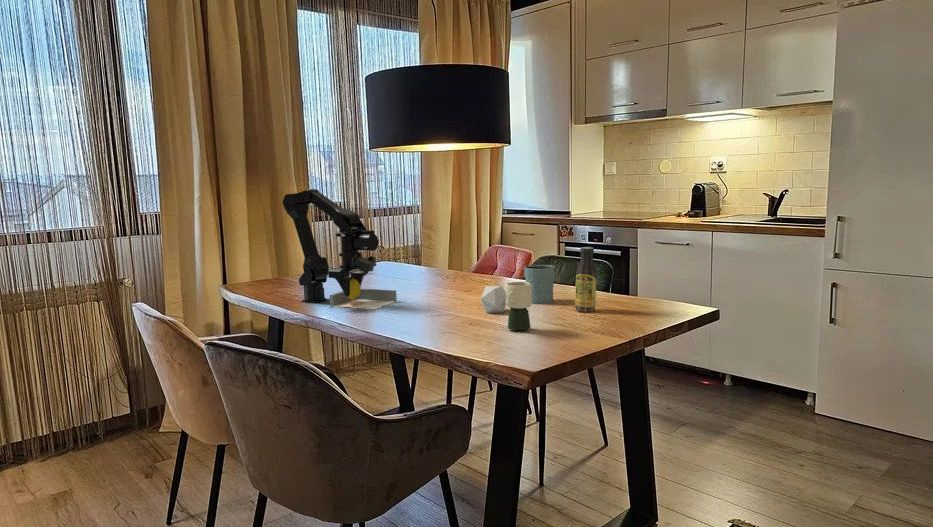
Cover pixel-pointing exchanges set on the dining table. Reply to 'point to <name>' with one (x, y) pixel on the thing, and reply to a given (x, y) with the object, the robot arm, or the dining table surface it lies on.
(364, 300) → the arena
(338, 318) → the dining table surface
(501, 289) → the die
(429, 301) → the dining table surface
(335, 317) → the dining table surface
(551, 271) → the blue grey cup
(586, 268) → the sauce bottle
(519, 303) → the character mug
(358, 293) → the lemon
